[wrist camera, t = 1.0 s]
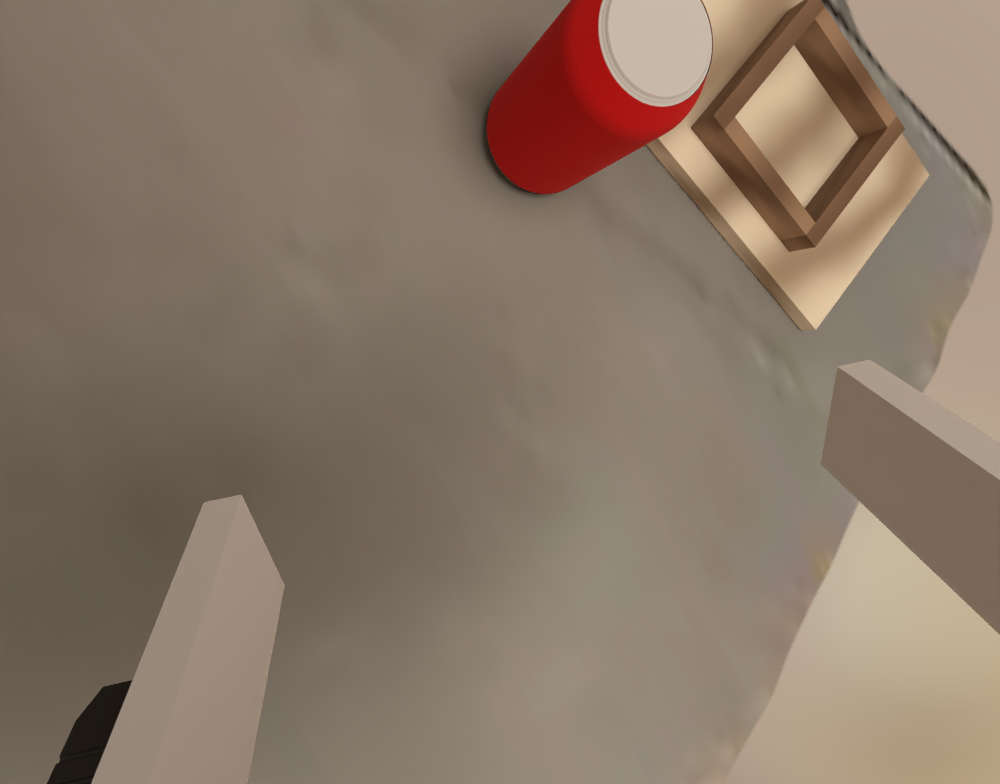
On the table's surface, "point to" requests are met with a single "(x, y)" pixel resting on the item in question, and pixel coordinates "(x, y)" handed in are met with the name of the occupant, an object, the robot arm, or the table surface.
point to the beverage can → (598, 89)
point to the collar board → (792, 152)
